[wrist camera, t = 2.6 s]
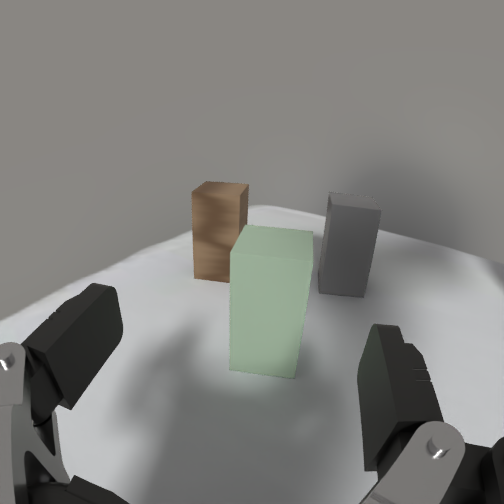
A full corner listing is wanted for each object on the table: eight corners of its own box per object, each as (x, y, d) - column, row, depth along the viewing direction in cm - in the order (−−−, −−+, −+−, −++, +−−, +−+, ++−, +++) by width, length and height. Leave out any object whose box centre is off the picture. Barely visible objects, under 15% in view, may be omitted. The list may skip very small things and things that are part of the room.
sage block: (297, 338, 28) (312, 231, 24) (294, 378, 23) (313, 261, 19) (241, 331, 28) (245, 224, 24) (229, 369, 24) (230, 252, 20)
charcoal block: (358, 276, 38) (372, 197, 34) (363, 297, 34) (381, 210, 30) (318, 271, 39) (329, 191, 35) (319, 293, 35) (332, 204, 30)
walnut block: (245, 263, 40) (248, 184, 36) (237, 283, 36) (240, 195, 32) (206, 259, 41) (206, 181, 37) (194, 278, 36) (191, 191, 32)
